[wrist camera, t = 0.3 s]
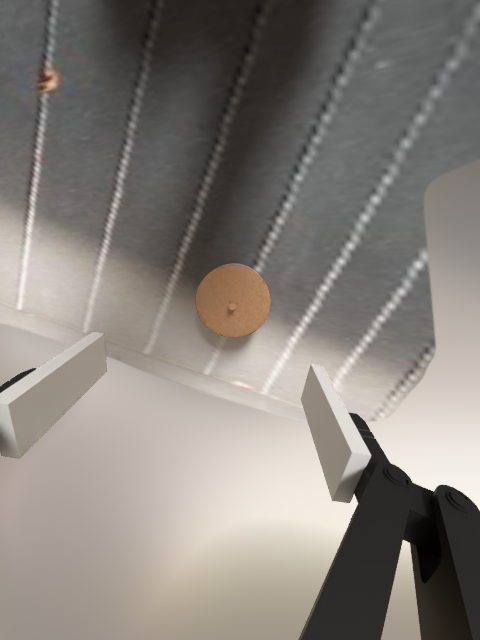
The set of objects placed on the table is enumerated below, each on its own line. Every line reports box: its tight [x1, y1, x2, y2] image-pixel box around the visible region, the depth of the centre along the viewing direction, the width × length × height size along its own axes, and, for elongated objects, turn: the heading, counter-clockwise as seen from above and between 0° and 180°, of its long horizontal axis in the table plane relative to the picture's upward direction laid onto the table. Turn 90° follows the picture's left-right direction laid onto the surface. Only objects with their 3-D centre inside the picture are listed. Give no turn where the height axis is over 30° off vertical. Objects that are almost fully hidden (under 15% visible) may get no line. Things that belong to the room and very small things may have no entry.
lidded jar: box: [196, 263, 271, 337], centre depth 38 cm, size 11×11×9 cm
